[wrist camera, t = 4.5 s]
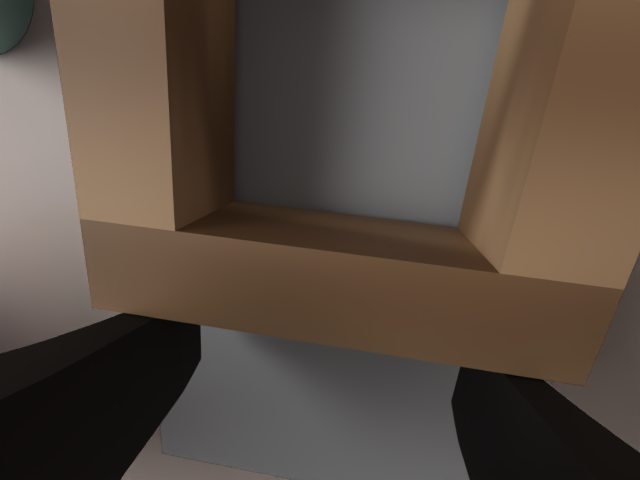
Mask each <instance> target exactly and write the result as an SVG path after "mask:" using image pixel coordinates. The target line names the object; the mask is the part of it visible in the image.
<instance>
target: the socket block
mask: <svg viewBox="0 0 640 480" xmlns="http://www.w3.org/2000/svg"><path fill="white" fill-rule="evenodd" d="M49 1H50V8H51V15H52V23H53V30H54V37H55V44H56V51H57V58H58V66H59V73H60V80H61V87H62V94H63V101H64V109H65V116H66V123H67V130H68V137H69V145H70V152H71V159H72V166H73V173H74V180H75V188H76V195H77V202H78V209H79V216H80V224H81V231H82V238H83V245H84V252H85V259H86V267H87V274H88V281H89V288H90V295H91V302H92V308H97V309H103V310H109V311H115V312H122V313H128V314H134V315H141V316H147V317H153V318H159V319H166V320H172V321H178V322H184V323H191V324H197V325H203V326H210V327H216V328H222V329H228V330H235V331H241V332H247V333H253V334H260V335H266V336H272V337H279V338H285V339H291V340H297V341H304V342H310V343H316V344H322V345H329V346H335V347H341V348H347V349H354V350H360V351H366V352H373V353H379V354H385V355H391V356H398V357H404V358H410V359H416V360H423V361H429V362H435V363H442V364H448V365H454V366H460V367H467V368H473V369H479V370H485V371H492V372H498V373H504V374H510V375H517V376H523V377H529V378H536V379H542V380H548V381H554V382H561V383H567V384H573V385H579V386H585V384H586V382H587V379H588V377H589V374H590V372H591V370H592V367H593V365H594V362H595V360H596V357H597V355H598V352H599V350H600V348H601V345H602V343H603V340H604V338H605V335H606V333H607V331H608V328H609V326H610V323H611V321H612V318H613V316H614V313H615V311H616V309H617V306H618V304H619V301H620V299H621V296H622V294H623V291H624V289H625V287H626V284H627V282H628V279H629V277H630V274H631V272H632V270H633V267H634V265H635V262H636V260H637V257H638V255H639V252H640V0H508V4H507V9H506V13H505V18H504V22H503V27H502V31H501V36H500V40H499V44H498V49H497V53H496V58H495V62H494V67H493V71H492V76H491V80H490V85H489V89H488V93H487V98H486V102H485V107H484V111H483V116H482V120H481V125H480V129H479V134H478V138H477V143H476V147H475V151H474V156H473V160H472V165H471V169H470V174H469V178H468V183H467V187H466V192H465V196H464V200H463V205H462V209H461V214H460V218H459V223H458V227H457V228H455V227H447V226H438V225H430V224H421V223H413V222H404V221H396V220H388V219H379V218H371V217H362V216H354V215H345V214H337V213H328V212H320V211H311V210H303V209H295V208H286V207H278V206H269V205H261V204H252V203H244V202H235V201H234V118H235V0H49Z"/></svg>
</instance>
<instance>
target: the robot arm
mask: <svg viewBox="0 0 640 480" xmlns="http://www.w3.org/2000/svg"><path fill="white" fill-rule="evenodd" d="M200 360H201V325H197V324H191V323H184V322H178V321H172V320H166V319H159V318H153V317H147V316H141V315H134V314H128V313H122V314H119V315H117V316H114V317H111V318H109V319H106V320H103V321H101V322H98V323H95V324H92V325H89V326H86V327H83V328H81V329H78V330H75V331H72V332H69V333H66V334H63V335H60V336H57V337H55V338H52V339H49V340H45V341H42V342H39V343H36V344H33V345H29V346H26V347H23V348H19V349H16V350H12V351H9V352H5V353H1V354H0V480H121V478H122V477H123V475H124V474H125V472H126V471H127V469H128V468H129V467H130V465H131V464H132V462H133V461H134V460H135V458H136V457H137V456H138V454H139V453H140V451H141V450H142V449H143V447H144V446H145V445H146V443H147V442H148V440H149V439H150V438H151V436H152V435H153V434H154V432H155V431H156V429H157V428H158V427H159V425H160V424H161V423H162V421H163V420H164V418H165V417H166V416H167V414H168V413H169V411H170V410H171V409H172V407H173V406H174V404H175V403H176V402H177V400H178V399H179V397H180V396H181V394H182V393H183V392H184V390H185V388H186V386H187V384H188V383H189V381H190V379H191V377H192V376H193V374H194V372H195V370H196V368H197V366H198V364H199V362H200ZM451 405H452V411H453V417H454V423H455V428H456V433H457V438H458V443H459V446H460V450H461V453H462V456H463V460H464V463H465V466H466V470H467V473H468V476H469V479H470V480H640V453H639V452H638V451H637V450H635V449H634V448H632V447H631V446H629V445H628V444H627V443H625V442H624V441H623V440H621V439H620V438H618V437H617V436H616V435H614V434H613V433H612V432H610V431H609V430H607V429H606V428H605V427H603V426H602V425H601V424H599V423H598V422H597V421H595V420H594V419H592V418H591V417H590V416H589V415H587V414H586V413H585V412H583V411H582V410H581V409H579V408H578V407H577V406H575V405H574V404H573V403H572V402H570V401H569V400H568V399H566V398H565V397H564V396H563V395H561V394H560V393H559V392H558V391H556V390H555V389H554V388H552V387H551V386H550V385H549V384H547V383H546V382H545V381H544V380H542V379H536V378H529V377H523V376H517V375H510V374H504V373H498V372H492V371H485V370H479V369H473V368H467V367H460V369H459V373H458V377H457V381H456V385H455V388H454V392H453V396H452V400H451Z"/></svg>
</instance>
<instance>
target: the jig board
mask: <svg viewBox="0 0 640 480" xmlns="http://www.w3.org/2000/svg"><path fill="white" fill-rule="evenodd" d="M507 4H508V0H235V118H234V201H235V202H244V203H252V204H261V205H269V206H278V207H286V208H295V209H303V210H311V211H320V212H328V213H337V214H345V215H354V216H362V217H371V218H379V219H388V220H396V221H404V222H413V223H421V224H430V225H438V226H447V227H455V228H457V227H458V223H459V218H460V214H461V209H462V205H463V200H464V196H465V192H466V187H467V183H468V178H469V174H470V169H471V165H472V160H473V156H474V151H475V147H476V143H477V138H478V134H479V129H480V125H481V120H482V116H483V111H484V107H485V102H486V98H487V93H488V89H489V85H490V80H491V76H492V71H493V67H494V62H495V58H496V53H497V49H498V44H499V40H500V36H501V31H502V27H503V22H504V18H505V13H506V9H507ZM459 369H460V366H454V365H448V364H442V363H435V362H429V361H423V360H416V359H410V358H404V357H398V356H391V355H385V354H379V353H373V352H366V351H360V350H354V349H347V348H341V347H335V346H329V345H322V344H316V343H310V342H304V341H297V340H291V339H285V338H279V337H272V336H266V335H260V334H253V333H247V332H241V331H235V330H228V329H222V328H216V327H210V326H203V325H201V360H200V362H199V364H198V366H197V368H196V370H195V372H194V374H193V376H192V377H191V379H190V381H189V383H188V384H187V386H186V388H185V390H184V392H183V393H182V394H181V396H180V397H179V399H178V400H177V402H176V403H175V404H174V406H173V407H172V409H171V410H170V411H169V413H168V414H167V416H166V417H165V418H164V420H163V421H162V423H161V424H160V429H161V442H162V453H163V454H168V455H172V456H177V457H182V458H187V459H192V460H197V461H202V462H207V463H212V464H217V465H222V466H227V467H231V468H236V469H241V470H246V471H251V472H256V473H261V474H266V475H271V476H276V477H281V478H286V479H291V480H470V479H469V476H468V473H467V470H466V466H465V463H464V460H463V456H462V453H461V450H460V446H459V443H458V438H457V433H456V428H455V423H454V417H453V411H452V405H451V400H452V396H453V392H454V388H455V385H456V381H457V377H458V373H459Z"/></svg>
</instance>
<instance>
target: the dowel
mask: <svg viewBox="0 0 640 480" xmlns="http://www.w3.org/2000/svg"><path fill="white" fill-rule="evenodd" d="M33 6H34V0H0V54H2V53H5V52H7V51H9V50H10V49H12V48H13V47H14V46H15V45H17V44H18V43H19V41H20V40H21V39H22V38H23V36H24V34H25V33H26V31H27V29H28V26H29V24H30V21H31V17H32V13H33Z"/></svg>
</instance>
